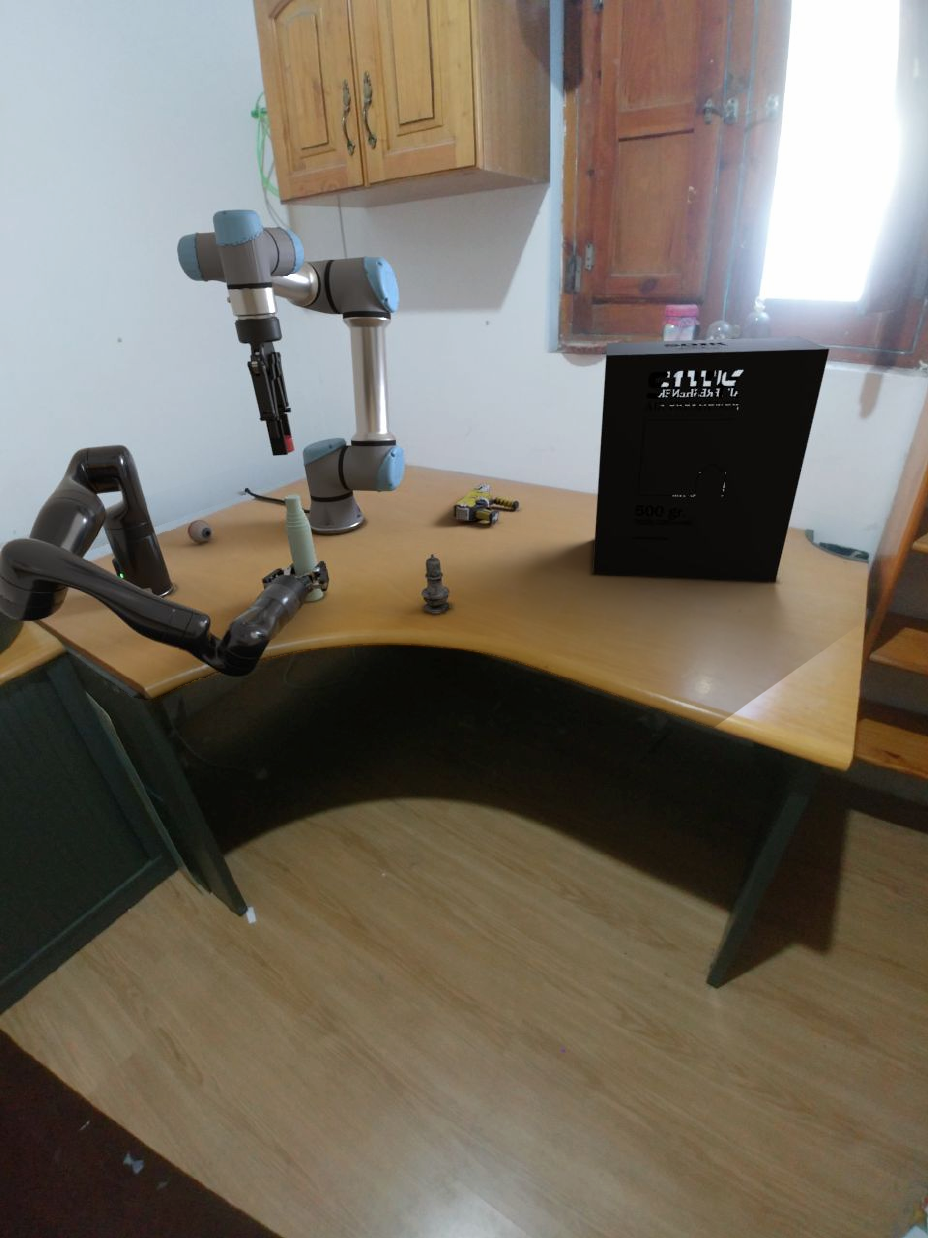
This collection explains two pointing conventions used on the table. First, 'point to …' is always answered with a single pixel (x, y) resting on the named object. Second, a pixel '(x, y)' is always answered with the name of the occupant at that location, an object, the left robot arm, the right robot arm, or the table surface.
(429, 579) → the grey tiered upright piece
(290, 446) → the cap
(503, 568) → the table surface
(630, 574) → the cardboard box
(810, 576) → the table surface
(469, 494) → the toy gun
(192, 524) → the eyeball
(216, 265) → the right robot arm
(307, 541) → the bottle
